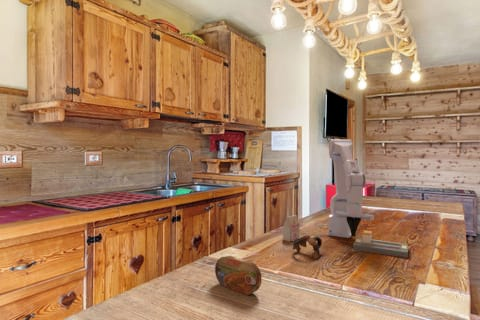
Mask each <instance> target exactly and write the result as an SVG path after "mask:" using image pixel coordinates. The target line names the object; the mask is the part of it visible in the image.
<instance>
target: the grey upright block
mask: <svg viewBox="0 0 480 320" xmlns="http://www.w3.org/2000/svg"><path fill="white" fill-rule="evenodd" d="M300 227H301V224H300V221H299V219H298V215H296V214H295V215H290V216H287V217H285V222H284V223H283V226H282V241H285V240H286V242H290V241H291V242H294V241H298V239H299V238H300V232H301V231H300ZM293 240H294V241H293Z"/></svg>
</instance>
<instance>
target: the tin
mask: <svg viewBox="0 0 480 320" xmlns="http://www.w3.org/2000/svg"><path fill="white" fill-rule="evenodd" d="M214 272H215V277H216V279H217V281H218V283H219V284H220V285H221V286H222V287H224V288H227V289H229V290H232V291H235V292H238V293H240V294H243V295H246V296H247V295H248V296H250V295H252V294H253V293H256V292H257V291H258V290H259V289H260V287H261V285H262V273H261V269H260V268H259V267H258V266H257V264H256V263H255V262H253V261H250V260H246V259H243V258H239V257H236V256H232V255H226V256H221V257H220V258H218V259H217V261H216V262H215V266H214Z"/></svg>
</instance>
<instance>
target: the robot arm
mask: <svg viewBox="0 0 480 320" xmlns="http://www.w3.org/2000/svg"><path fill="white" fill-rule="evenodd" d="M353 149H354V143H353V140H352V139H335V138H334V139H333V138H331V139H330V140H329V142H328V155H329V158H330V159H332V161H333V162H332V163H333V170H334V183H335V194H334V195H333V196H332V197H330V198H331V199H329V201H330V204H329V211H330V213H331V214H329V216H328V219H327V220H328V222H327V225H328V226H327V236H332V237H338V238H346V239H350V238H351V237H357V236H356V233H357V230H358V227H359V225H360V223H361V221H362V220H366V221H374V217H375V216H374V214H368V213H363V188H364V187H365V186H366V176H365V173H364V172H362V171H361V170H360V168H359V166H358V163H357V161H355V160H354V159H353V155H352V151H353Z"/></svg>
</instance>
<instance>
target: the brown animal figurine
mask: <svg viewBox="0 0 480 320" xmlns="http://www.w3.org/2000/svg"><path fill="white" fill-rule="evenodd" d="M307 243H308V244H309V245H310V246H311V247H312V248H313V252H311V255H312V258H313V259H314V260H315V259H317V258H319V257H321V253H320V248H321V246H322V244H323V241H322V238H321V237H319V236H314V237H311V236H310V234H306V235H304V236H301V237H299V239H297V240H294V241H292V243H291V244H292V250H295V251H297V252H300V251H301V250H302V249H301V247H303V248H308V247H307Z"/></svg>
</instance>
